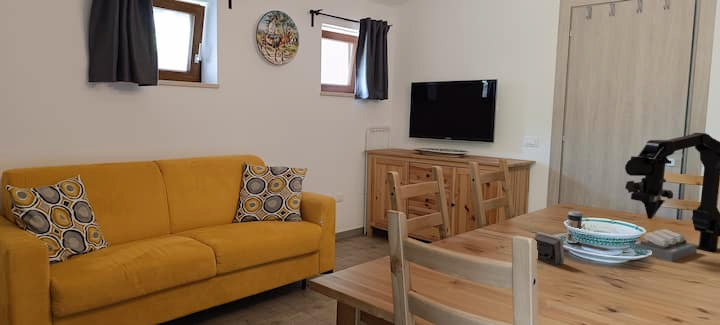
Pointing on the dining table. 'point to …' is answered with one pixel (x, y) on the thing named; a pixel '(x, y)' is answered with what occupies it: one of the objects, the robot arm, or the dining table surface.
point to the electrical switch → (549, 248)
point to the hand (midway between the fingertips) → (649, 218)
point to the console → (669, 250)
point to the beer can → (573, 223)
